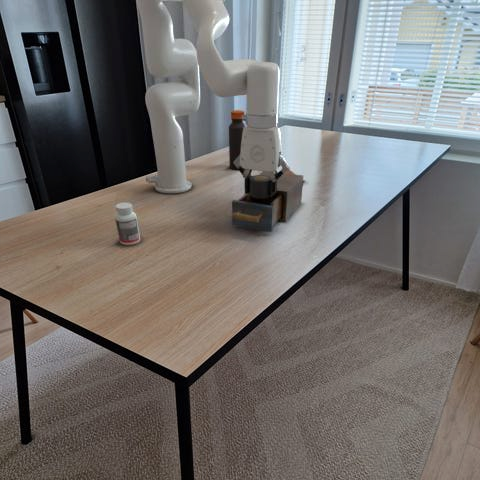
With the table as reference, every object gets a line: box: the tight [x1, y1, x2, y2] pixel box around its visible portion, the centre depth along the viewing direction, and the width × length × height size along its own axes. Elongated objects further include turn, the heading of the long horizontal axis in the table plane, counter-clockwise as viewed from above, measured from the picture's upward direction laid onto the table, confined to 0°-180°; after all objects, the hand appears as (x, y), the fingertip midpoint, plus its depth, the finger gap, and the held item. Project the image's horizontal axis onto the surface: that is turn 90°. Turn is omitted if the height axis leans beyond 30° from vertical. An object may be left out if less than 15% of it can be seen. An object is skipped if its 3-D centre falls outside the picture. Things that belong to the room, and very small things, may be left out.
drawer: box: [231, 193, 284, 233], centre depth 113 cm, size 19×12×7 cm, turn 156°
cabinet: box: [244, 171, 304, 223], centre depth 123 cm, size 16×13×9 cm
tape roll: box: [249, 174, 271, 199], centre depth 110 cm, size 6×6×5 cm
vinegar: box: [228, 109, 247, 171], centre depth 154 cm, size 7×7×20 cm
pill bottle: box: [114, 202, 141, 246], centre depth 105 cm, size 5×5×10 cm
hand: (260, 192), depth 111 cm, fingers closed on tape roll, 6 cm apart
